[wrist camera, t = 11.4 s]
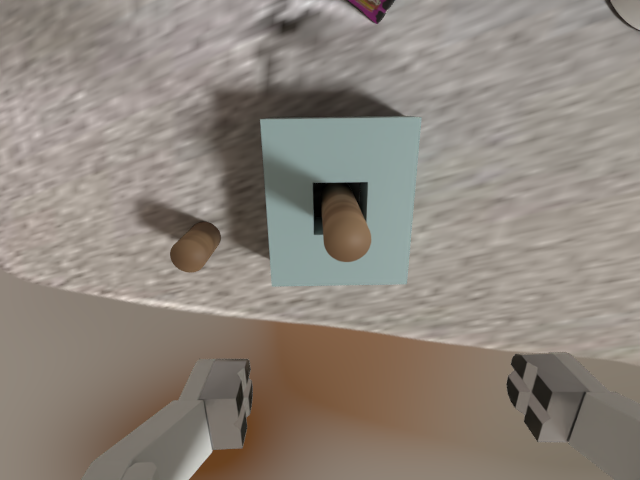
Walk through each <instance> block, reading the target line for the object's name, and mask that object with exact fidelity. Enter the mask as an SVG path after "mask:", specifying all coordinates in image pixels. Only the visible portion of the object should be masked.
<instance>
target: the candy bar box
mask: <svg viewBox="0 0 640 480" xmlns="http://www.w3.org/2000/svg"><path fill="white" fill-rule="evenodd" d="M347 1H348V2H350V3H351V4H352V5H354V6H355V7H356V8H357V9H359V10H360V11H361V12H362V13H364V14H365V15H366V16H367V17H368V18H370V19H371V20H372V21H374V22H375V23H376V24H378V23H379V22H380V21H381V20H382V18H383V17H384V16H385V14H386V13H387V11H388V10H389V8H390V7H391V5H392V4H393V2H394V1H395V0H347Z"/></svg>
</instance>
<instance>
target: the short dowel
mask: <svg viewBox="0 0 640 480" xmlns="http://www.w3.org/2000/svg"><path fill="white" fill-rule="evenodd" d="M220 240H221V235H220V232H219V230H218V229H217V228H216V227H215V226H214V225H213V224H211V223H208V222H200V223H197V224H196V225H194V226H193V227H192V228H191V229H190V230H189V231H188V232H187V233H186V234H185V235H184V236H183V237H182V238H181V239H180V240H179V241H178V242H177V243H175V244H174V245H173V247H172V249H171V252H170V257H171V260H172V262H173V264H174V265H175V266H176V267H177V268H178V269H180V270H182V271H184V272H196V271H198V270H200V269H201V268H202V267H203V266H204V265H205V263H206V262H207V260H208V259H209V258H210V256H211V255H212V253H213V252H214V251H215V249H216V248H217V246H218V245H219V243H220Z"/></svg>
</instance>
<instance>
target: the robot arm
mask: <svg viewBox="0 0 640 480" xmlns="http://www.w3.org/2000/svg"><path fill="white" fill-rule="evenodd" d="M610 1H611V3H612V5H613V6H614V8H615V9H616V11H617V12H618V13H619V15H620V16H621V17H622V18H623V19H624V20H625V21H626V22H627V23H629V24H630V25H631V26H633V27H634V28H636V29H638V30H640V0H610ZM511 365H512V367H513V368H514V371H513V372H512V373H511V374H510V375H508V379H507V392H508V396H509V398H510V401H511V403H512V404H513V406H514V407H515V408H516V409H517V410H518V411H520V412H521V413H523V414H524V415H525V418H524V422H525V424H526V425H527V427H528V428H529V430H530V431H531V433H532V434H533V436H534V437H535V439H536V440H537V442H569V443H568V444H569V445H570V446H572V447H573V448H574V449H576V450H577V451H578V452H580V453H581V454H582V455H584V456H585V457H586V458H587V459H588V460H590V461H591V462H592V463H594V464H595V465H596V466H597V467H599V468H600V469H601V470H603V471H604V472H605V473H606V474H608V475H609V476H610V477H612V478H613V479H614V480H640V404H639V403H637V402H635V401H633V400H631V399H629V398H627V397H625V396H623V395H621V394H619V393H617V392H610V391H609V390H607V389H606V388H605V387H604V386H603V385H602V384H601V383H600V382H599V381H598V380H597V379H596V378H595V377H594V376H593V375H592V374H591V373H590V372H589V371H588V370H587V369H586V368H585V367H584V366H583V365H582V364H581V363H579V362H578V361H577V360H576V359H575V358H574V357H573V356H572V355H571V354H569V353H567V352H550V353H526V354H515V355H514V356H513V358H512V362H511ZM250 370H251V368H250V361H249V360H248V359H199V360H198V361H197V362H196V364H195V366H194V368H193V370H192V372H191V375H190V377H189V379H188V381H187V383H186V385H185V387H184V389H183V392H182V394H181V396H180V398H179V400H178V401H172V402H171V403H169V404H168V405H167V406H166V407H164V408H163V409H162V410H160V411H159V412H158V413H156V414H155V415H154V416H152V417H151V418H150V419H148V420H147V421H146V422H145V423H143V424H142V425H141V426H139V427H138V428H136V429H135V430H134V431H132V432H131V433H130V434H129V435H127V436H126V437H125V438H123V439H122V440H121V441H119V442H118V443H117V444H115V445H114V446H113V447H112V448H110V449H109V450H107V451H106V452H105V453H104V454H102V455H101V456H99V457H98V458H97V459H96V460H94V461H93V462H92V463H91V465H90V466H89V468H88V469H87V471H86V473H85V474H84V476H83V477H82V479H81V480H189V479H190V477H191V476H192V475H193V473H194V472H195V471H196V470H197V469H198V468H199V467H200V466H201V464H202V463H203V462H204V461H205V460H206V458H207V457H208V456H209V455H210V454H211V452H212V450H216V449H235V448H243V444H244V439H245V435H246V430H247V421H246V417H247V416H248V415H249V414H250V412H251V407H252V397H253V387H252V381H251V380H250V379H249V374H250Z"/></svg>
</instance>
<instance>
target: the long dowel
mask: <svg viewBox="0 0 640 480" xmlns="http://www.w3.org/2000/svg"><path fill="white" fill-rule="evenodd" d="M321 207H322V223H323V240H324V247H325V249H326V251H327V253H328V254H329V255H330V256H331V257H332V258H334V259H336V260H338V261H341V262H352V261H356V260H358V259H360V258H361V257H363V256H364V255H365V254H366V253H367V251H368V250H369V248H370V245H371V233H370V230H369V228H368V226H367V223H366V221H365V219H364V217H363V214H362V212H361V210H360V208H359V205H358V203H357V201H356V199H355V197H354V194H353V192H352V190H351V188H350V186H349V185H348V184H347V183H346V182H338V183H326V184H325V185H324V187H323V188H322V191H321Z"/></svg>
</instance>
